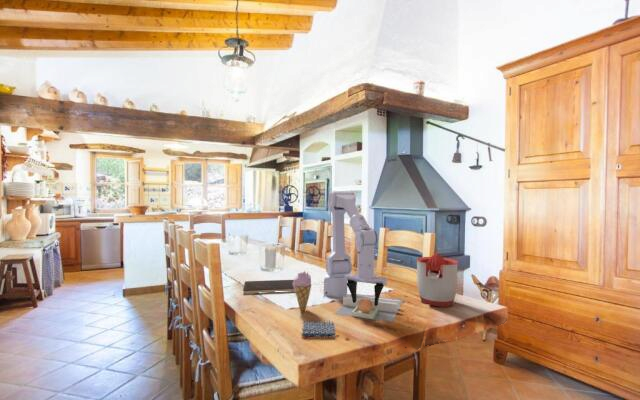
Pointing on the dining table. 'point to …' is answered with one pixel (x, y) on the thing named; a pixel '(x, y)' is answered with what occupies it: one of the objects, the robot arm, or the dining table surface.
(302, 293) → the ice cream cone
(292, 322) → the dining table surface
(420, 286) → the citrus juicer
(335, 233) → the robot arm
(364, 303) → the ball
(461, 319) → the dining table surface
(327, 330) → the woven mat
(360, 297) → the grey ridged board
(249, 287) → the hardcover book
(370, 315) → the dish
